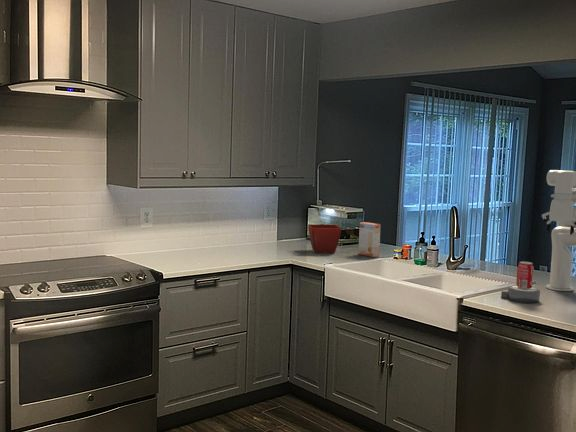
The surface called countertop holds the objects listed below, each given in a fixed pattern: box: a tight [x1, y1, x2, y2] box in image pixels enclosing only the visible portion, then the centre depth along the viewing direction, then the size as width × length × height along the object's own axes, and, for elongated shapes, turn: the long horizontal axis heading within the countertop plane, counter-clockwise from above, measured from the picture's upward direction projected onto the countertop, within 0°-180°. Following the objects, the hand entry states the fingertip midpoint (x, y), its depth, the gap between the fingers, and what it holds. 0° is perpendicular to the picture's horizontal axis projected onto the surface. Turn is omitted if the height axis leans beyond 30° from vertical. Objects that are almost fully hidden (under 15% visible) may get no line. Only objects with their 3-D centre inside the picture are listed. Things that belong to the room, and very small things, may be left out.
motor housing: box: [500, 285, 541, 305], centre depth 294 cm, size 14×16×6 cm
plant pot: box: [307, 224, 342, 254], centre depth 416 cm, size 19×19×17 cm
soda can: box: [515, 260, 535, 289], centre depth 293 cm, size 7×7×12 cm
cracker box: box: [357, 221, 381, 258], centre depth 405 cm, size 14×6×21 cm, turn 34°
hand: (560, 233), depth 301 cm, fingers open, 9 cm apart
